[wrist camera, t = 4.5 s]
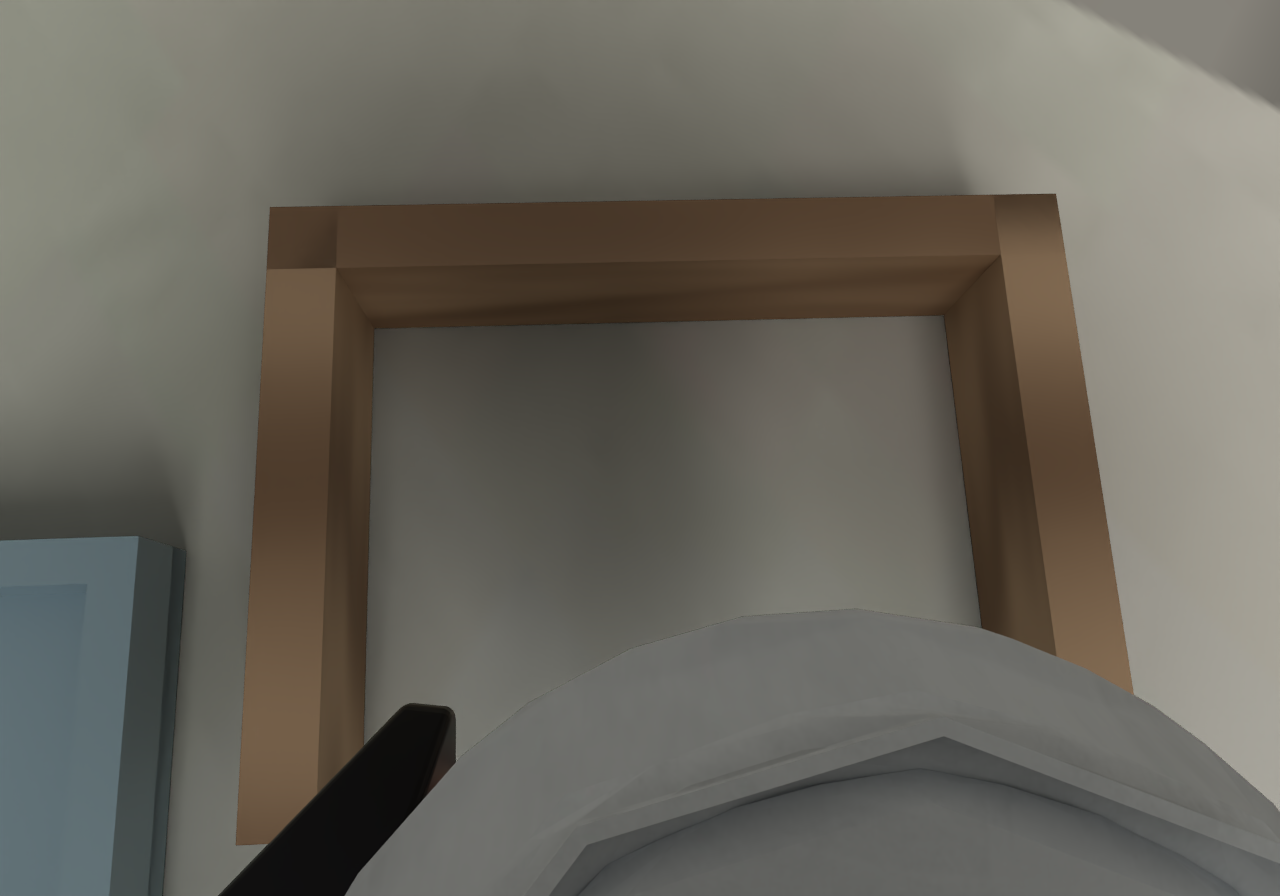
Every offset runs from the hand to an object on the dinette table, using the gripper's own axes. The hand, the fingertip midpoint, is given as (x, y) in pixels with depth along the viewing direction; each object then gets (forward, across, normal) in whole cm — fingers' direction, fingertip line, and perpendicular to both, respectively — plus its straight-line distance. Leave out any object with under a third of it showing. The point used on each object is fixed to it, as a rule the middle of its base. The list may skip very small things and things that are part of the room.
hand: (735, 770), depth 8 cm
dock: (+10, 0, +5) cm, 11 cm away
